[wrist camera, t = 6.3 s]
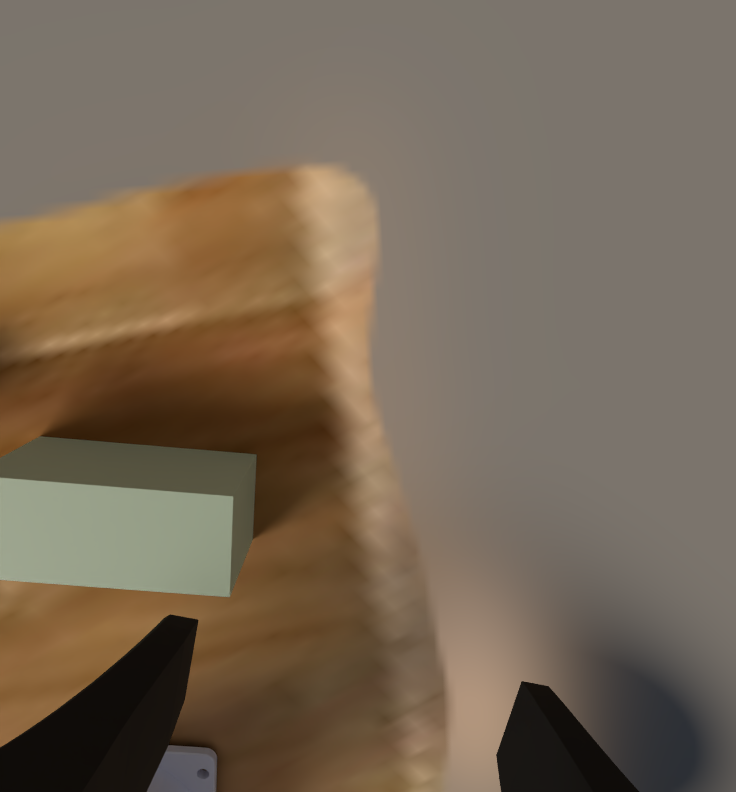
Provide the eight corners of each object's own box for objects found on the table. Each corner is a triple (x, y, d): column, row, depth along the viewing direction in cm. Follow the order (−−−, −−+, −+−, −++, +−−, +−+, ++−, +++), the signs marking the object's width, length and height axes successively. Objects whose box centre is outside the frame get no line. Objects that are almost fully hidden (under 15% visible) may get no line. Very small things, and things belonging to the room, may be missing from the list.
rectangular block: (46, 520, 22) (-23, 578, 18) (42, 434, 21) (-32, 475, 17) (253, 537, 22) (229, 597, 18) (257, 452, 21) (233, 496, 17)
